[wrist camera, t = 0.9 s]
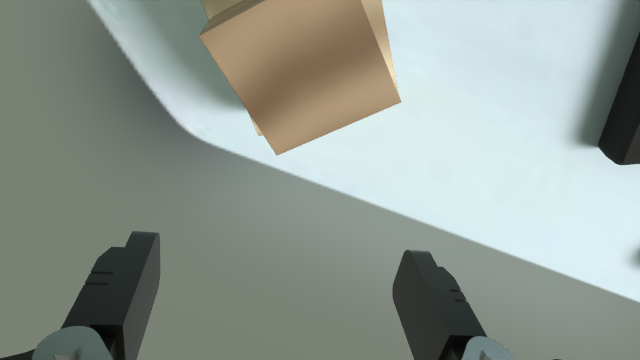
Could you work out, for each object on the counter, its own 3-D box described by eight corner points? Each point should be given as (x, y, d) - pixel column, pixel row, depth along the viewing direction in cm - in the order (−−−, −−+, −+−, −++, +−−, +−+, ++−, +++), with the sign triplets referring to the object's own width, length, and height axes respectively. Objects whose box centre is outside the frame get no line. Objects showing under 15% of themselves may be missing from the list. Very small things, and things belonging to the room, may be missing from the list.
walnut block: (212, 16, 27) (198, 35, 23) (339, -53, 25) (343, -42, 21) (280, 127, 32) (276, 155, 28) (391, 77, 29) (401, 101, 26)
